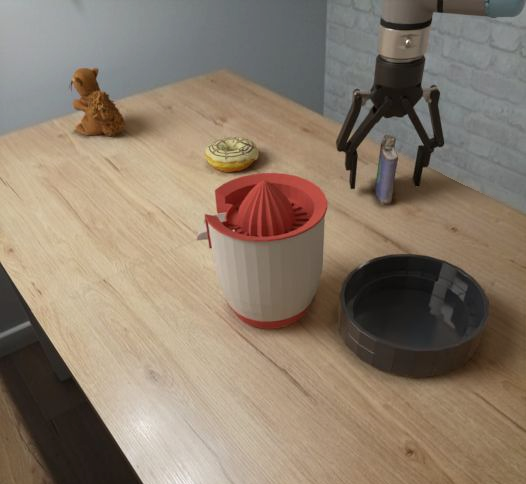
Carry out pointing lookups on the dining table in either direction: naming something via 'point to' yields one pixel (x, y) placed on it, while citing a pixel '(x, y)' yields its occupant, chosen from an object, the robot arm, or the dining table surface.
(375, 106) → the robot arm
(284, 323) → the citrus juicer
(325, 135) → the dining table surface
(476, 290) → the bowl
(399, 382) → the dining table surface
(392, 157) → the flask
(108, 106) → the stuffed squirrel
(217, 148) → the decorated donut
